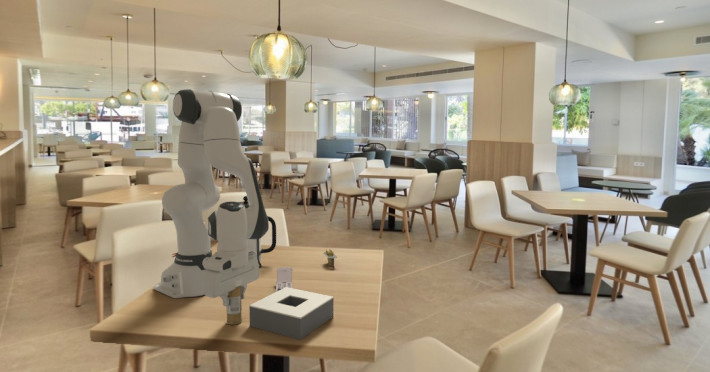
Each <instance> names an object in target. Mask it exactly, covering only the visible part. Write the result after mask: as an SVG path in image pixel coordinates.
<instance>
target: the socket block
mask: <svg viewBox="0 0 710 372" xmlns="http://www.w3.org/2000/svg"><path fill="white" fill-rule="evenodd" d="M334 298H335V297H334V296H333V295H332V296H331V295H326V294H321V293H318V292H312V291H306V290H302V289H298V288H294V287H292V288H288V287H285V288H283V289H281V290H279V291H277V292H275V291H274V292H273V293H271V294H269V295H267V296H265V297H264V298H261V299H259V300H257V301H255V302H253V303H251V304H249V309H248V310H249V327H251V328H255V329H259V330H262V331H267V332H271V333H274V334H277V335H281V336H285V337H289V338H293V339H297V340H302V339H304V338H305V337H306V336H308V335H309V334H311V333H312V332H314V331H315V330H317V329H318V328H320V327H321V326H322V325H324V324H325V323H327V322H328V321H330V320H331V319H332V318H334Z"/></svg>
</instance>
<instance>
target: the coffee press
mask: <svg viewBox="0 0 710 372" xmlns="http://www.w3.org/2000/svg"><path fill="white" fill-rule="evenodd" d="M238 202H239V203H242V204H243V205H244V206H245V209H246V208H249V203H248V198H247V195H245V196H243V198H242V201H238ZM267 217H268V221H269V222H270V224H271V245H270V246H269V247H268V248H262V238H260V239H247V244H248V252H250V251H253V252H255V253H256V254H257V260H258V265H259V269H260V268H261V267H262V266H263V265H262V263H261V260H262V254H269V253H270V252H273V251H274V250H275V248H276V247H277V226H276V225H277V223H276V221H275V220H274V218H272V217H271V216H268V215H267Z"/></svg>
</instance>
